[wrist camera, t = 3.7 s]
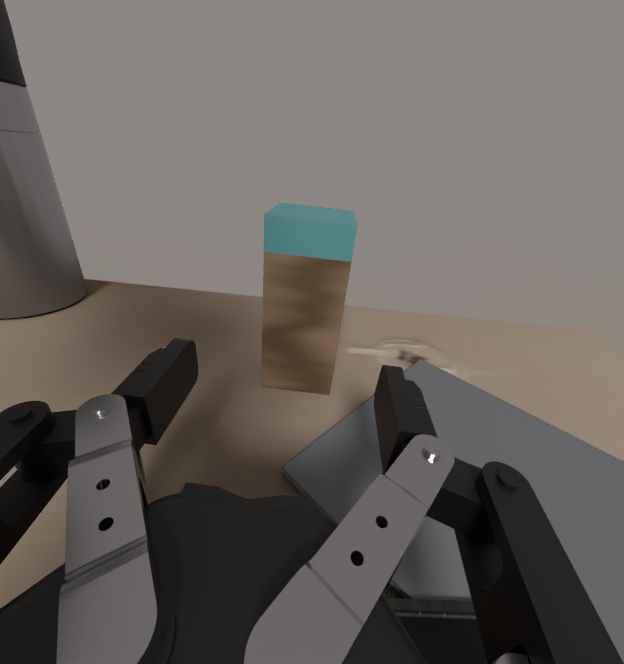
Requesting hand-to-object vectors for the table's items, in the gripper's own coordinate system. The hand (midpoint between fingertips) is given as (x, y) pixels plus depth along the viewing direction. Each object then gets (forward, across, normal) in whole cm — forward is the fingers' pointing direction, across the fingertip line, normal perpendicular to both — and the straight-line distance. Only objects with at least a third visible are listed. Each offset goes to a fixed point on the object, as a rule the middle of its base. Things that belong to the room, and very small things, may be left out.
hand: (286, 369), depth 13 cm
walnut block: (+9, 0, +7) cm, 11 cm away
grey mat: (+2, -11, +7) cm, 13 cm away
